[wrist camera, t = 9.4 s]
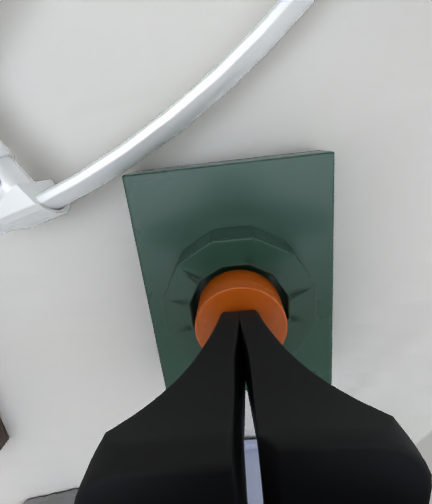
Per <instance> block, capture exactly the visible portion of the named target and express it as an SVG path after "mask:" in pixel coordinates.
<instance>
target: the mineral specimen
mask: <svg viewBox="0 0 432 504" xmlns="http://www.w3.org/2000/svg"><path fill="white" fill-rule="evenodd" d="M77 492H78V489H73V490H70V491H65V492H62V493H59V494H56V493H53V494H51V495H49V496H46V497H45V496H43V497H36V498H33V499H29V500H27V501H26V502H24V503H23V504H74V502H75V497H76V494H77Z"/></svg>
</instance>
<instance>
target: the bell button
mask: <svg viewBox="0 0 432 504" xmlns="http://www.w3.org/2000/svg"><path fill="white" fill-rule="evenodd" d="M244 310H256V311H258V312H259V314H260V316H261V318H262V319H263V321H264V322H265V324H266V325H267V327H268V328H269V329H270V331H271V332H272V333H273V334H274V336H275V337H276V338H277V339H278V340H279V341H280V343H281V344H282V345H283V343H284V341H285V338H286V335H287V330H288V323H287V318H286V314H285V311H284V308H283V305H282V302H281V299H280V296H279V294H278V291H277V289H276V288H275V286H274V285H273V284H272V283H271V282H270V281H269V280H268V279H267V278H265V277H264V276H262V275H260V274H258V273H256V272H253V271H249V270H231V271H227V272H224V273H221V274H219V275H217V276H216V277H214V278H213V279H212V280H210V281H209V282H208V283H207V285H206V286H205V287H204V289H203V290H202V292H201V295H200V298H199V303H198V308H197V314H196V320H195V333H196V337H197V340H198V342H199V344H200V346H201V347H202V348H203V346H204V345H205V343H206V342H207V340H208V338H209V337H210V335H211V333H212V332H213V330H214V328H215V326H216V324H217V322H218V320H219V317H220V315H221V314H222V313H223V312H231V311H244Z"/></svg>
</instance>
